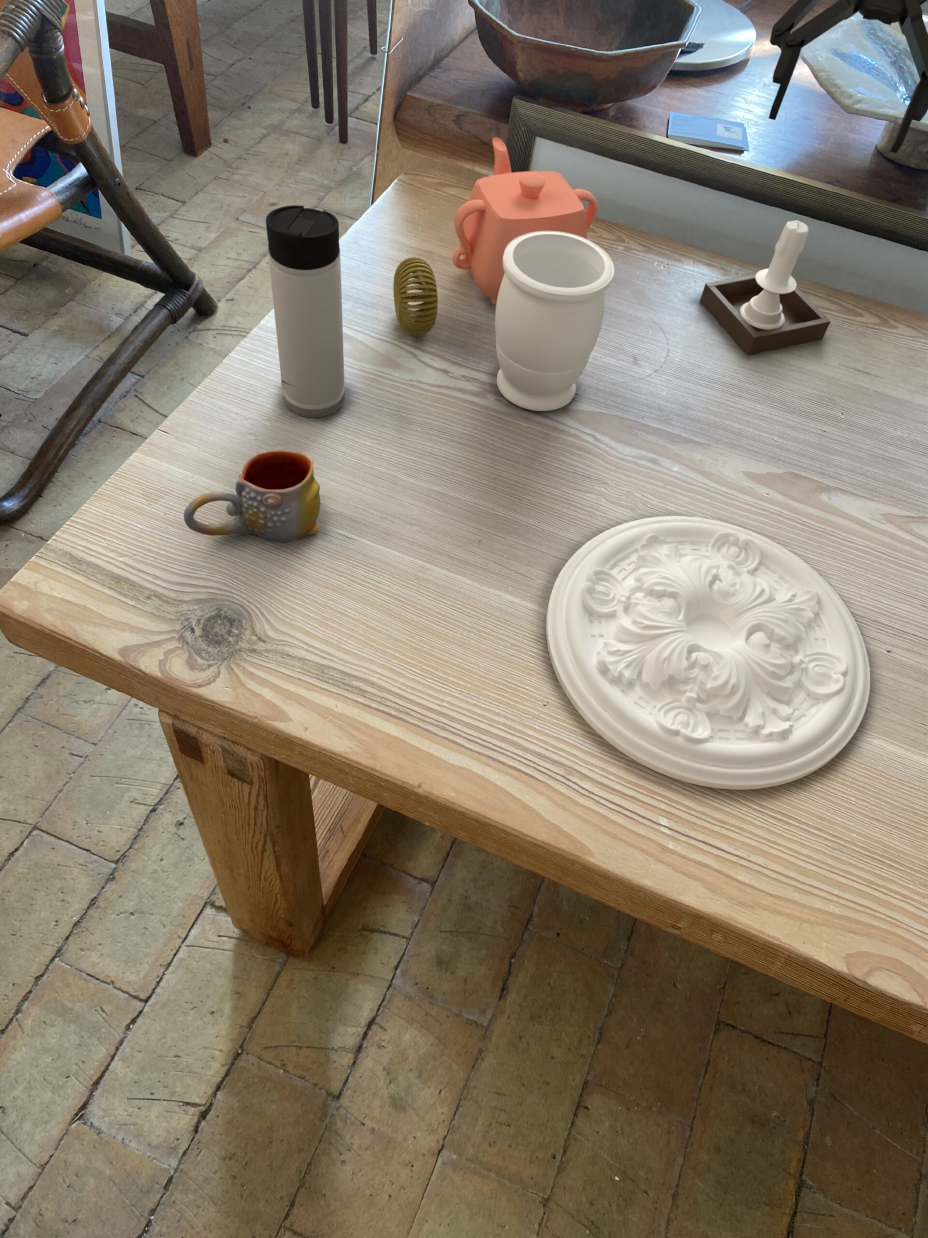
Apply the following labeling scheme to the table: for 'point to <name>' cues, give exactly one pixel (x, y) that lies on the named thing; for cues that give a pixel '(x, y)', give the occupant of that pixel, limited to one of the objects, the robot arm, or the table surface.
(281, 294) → the travel mug
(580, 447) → the table surface
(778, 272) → the candle
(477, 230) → the teapot
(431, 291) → the sculpture
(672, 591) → the ceiling medallion
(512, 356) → the jar
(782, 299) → the tray
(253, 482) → the mug
